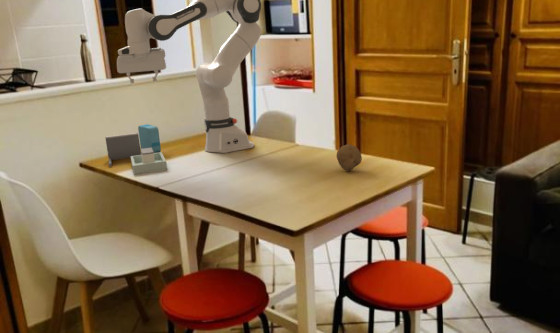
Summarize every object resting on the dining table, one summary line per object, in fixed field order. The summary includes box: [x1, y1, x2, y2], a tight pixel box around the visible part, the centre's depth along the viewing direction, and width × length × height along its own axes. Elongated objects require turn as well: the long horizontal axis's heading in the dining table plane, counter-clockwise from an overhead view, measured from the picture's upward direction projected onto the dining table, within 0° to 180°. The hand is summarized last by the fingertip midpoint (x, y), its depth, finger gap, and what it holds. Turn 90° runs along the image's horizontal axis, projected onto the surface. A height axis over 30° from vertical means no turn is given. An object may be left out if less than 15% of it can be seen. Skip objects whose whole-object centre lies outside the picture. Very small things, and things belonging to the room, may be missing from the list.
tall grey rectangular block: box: [140, 147, 155, 164], centre depth 214 cm, size 4×9×6 cm, turn 19°
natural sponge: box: [336, 143, 363, 172], centre depth 190 cm, size 9×9×10 cm
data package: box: [137, 124, 162, 153], centre depth 241 cm, size 12×4×12 cm, turn 40°
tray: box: [130, 151, 168, 175], centre depth 215 cm, size 13×17×4 cm
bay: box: [105, 132, 141, 168], centre depth 225 cm, size 14×13×11 cm
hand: (143, 82), depth 222 cm, fingers open, 8 cm apart
